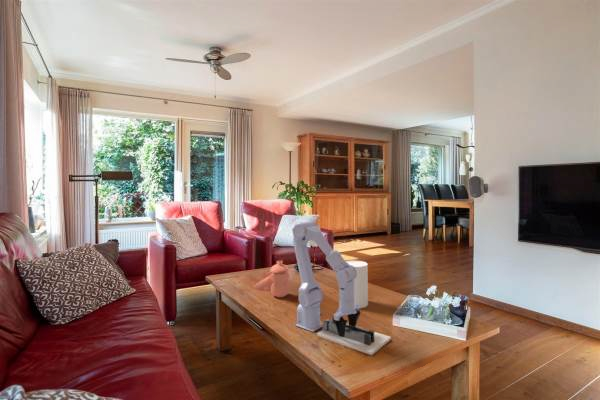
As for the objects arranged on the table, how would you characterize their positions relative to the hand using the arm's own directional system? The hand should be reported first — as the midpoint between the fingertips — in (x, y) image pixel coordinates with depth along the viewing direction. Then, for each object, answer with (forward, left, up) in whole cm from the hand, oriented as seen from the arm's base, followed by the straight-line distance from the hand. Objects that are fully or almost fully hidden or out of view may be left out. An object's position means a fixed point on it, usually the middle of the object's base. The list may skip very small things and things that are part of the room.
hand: (347, 332), depth 128 cm
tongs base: (0, 0, -1) cm, 1 cm away
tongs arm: (+1, +1, -1) cm, 2 cm away
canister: (-18, +34, -2) cm, 38 cm away
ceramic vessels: (-66, +26, -3) cm, 71 cm away
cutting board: (+2, +2, -2) cm, 3 cm away
